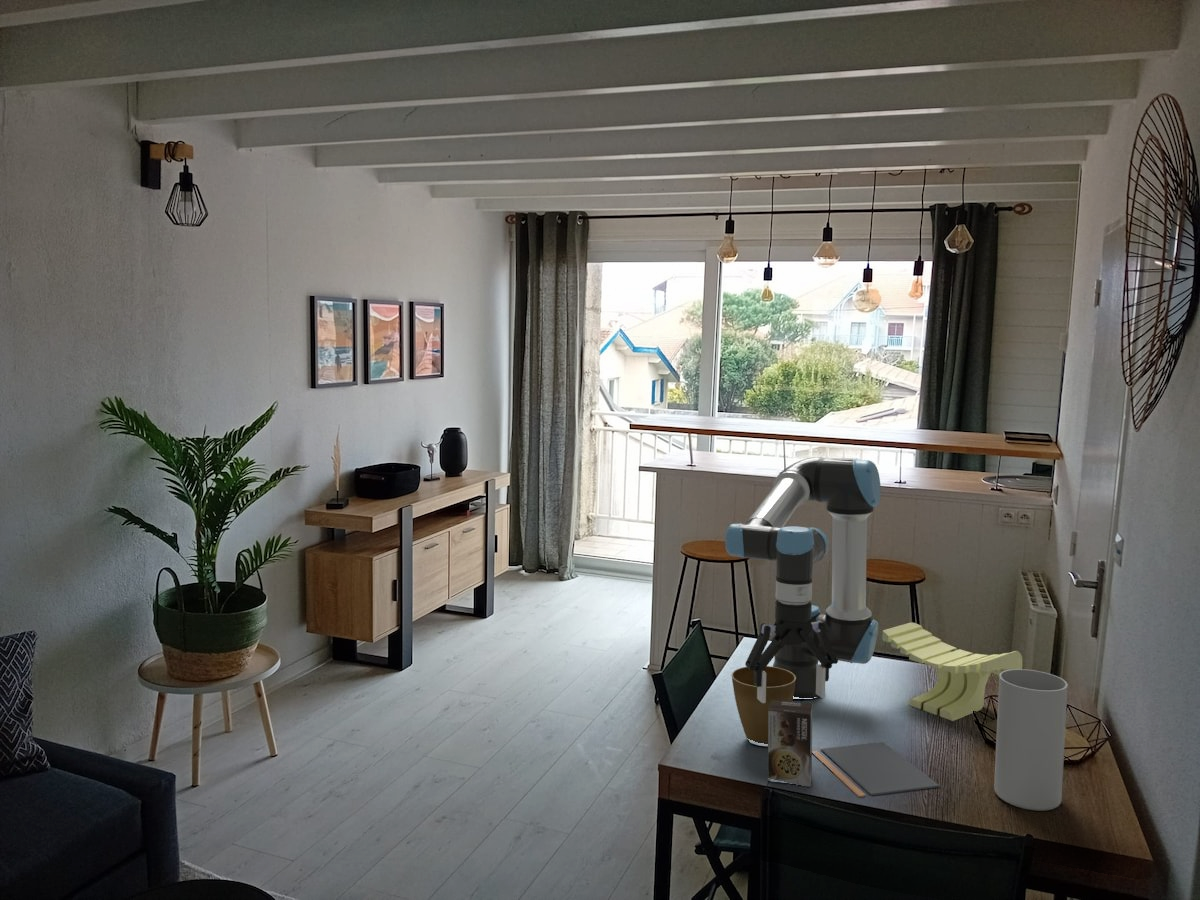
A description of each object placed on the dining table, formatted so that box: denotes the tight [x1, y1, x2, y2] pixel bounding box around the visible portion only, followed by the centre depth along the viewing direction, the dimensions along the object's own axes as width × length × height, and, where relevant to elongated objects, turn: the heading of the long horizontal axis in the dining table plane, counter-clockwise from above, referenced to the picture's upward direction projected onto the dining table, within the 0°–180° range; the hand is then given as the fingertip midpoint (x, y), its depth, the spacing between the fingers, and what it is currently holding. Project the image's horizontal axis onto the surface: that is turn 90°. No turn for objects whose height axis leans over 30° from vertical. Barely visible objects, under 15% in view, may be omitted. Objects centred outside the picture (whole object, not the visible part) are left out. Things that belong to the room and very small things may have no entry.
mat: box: [820, 741, 940, 796], centre depth 196 cm, size 22×16×1 cm
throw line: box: [812, 749, 866, 798], centre depth 194 cm, size 22×2×1 cm, turn 13°
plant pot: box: [731, 665, 796, 744], centre depth 209 cm, size 15×15×16 cm
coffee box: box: [767, 700, 813, 788], centre depth 190 cm, size 9×6×16 cm
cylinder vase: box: [993, 668, 1069, 812], centre depth 182 cm, size 12×12×25 cm
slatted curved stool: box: [881, 622, 1023, 722], centre depth 231 cm, size 30×16×18 cm, turn 36°
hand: (791, 698), depth 189 cm, fingers open, 13 cm apart
